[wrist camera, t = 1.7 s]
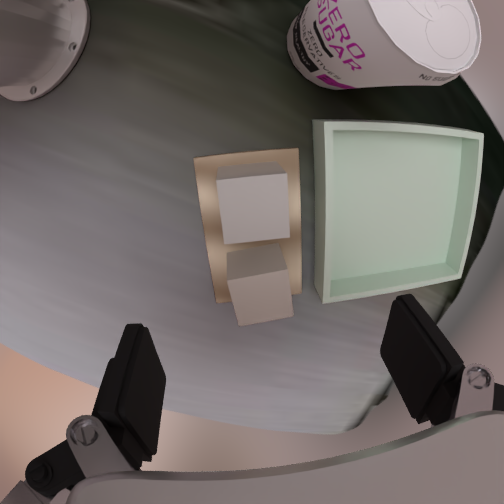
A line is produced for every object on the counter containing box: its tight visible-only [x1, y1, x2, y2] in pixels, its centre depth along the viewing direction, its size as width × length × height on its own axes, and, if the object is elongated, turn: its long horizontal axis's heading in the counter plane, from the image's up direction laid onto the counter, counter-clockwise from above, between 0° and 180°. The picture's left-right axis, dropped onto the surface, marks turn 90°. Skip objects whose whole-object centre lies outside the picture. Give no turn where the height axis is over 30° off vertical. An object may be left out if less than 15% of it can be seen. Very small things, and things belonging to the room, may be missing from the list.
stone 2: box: [227, 243, 294, 326], centre depth 28 cm, size 5×5×5 cm
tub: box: [312, 119, 484, 304], centre depth 27 cm, size 17×18×4 cm
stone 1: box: [216, 161, 290, 244], centre depth 24 cm, size 5×5×5 cm
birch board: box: [194, 148, 302, 303], centre depth 29 cm, size 15×9×1 cm, turn 5°
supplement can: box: [287, 0, 481, 90], centre depth 15 cm, size 8×8×15 cm
